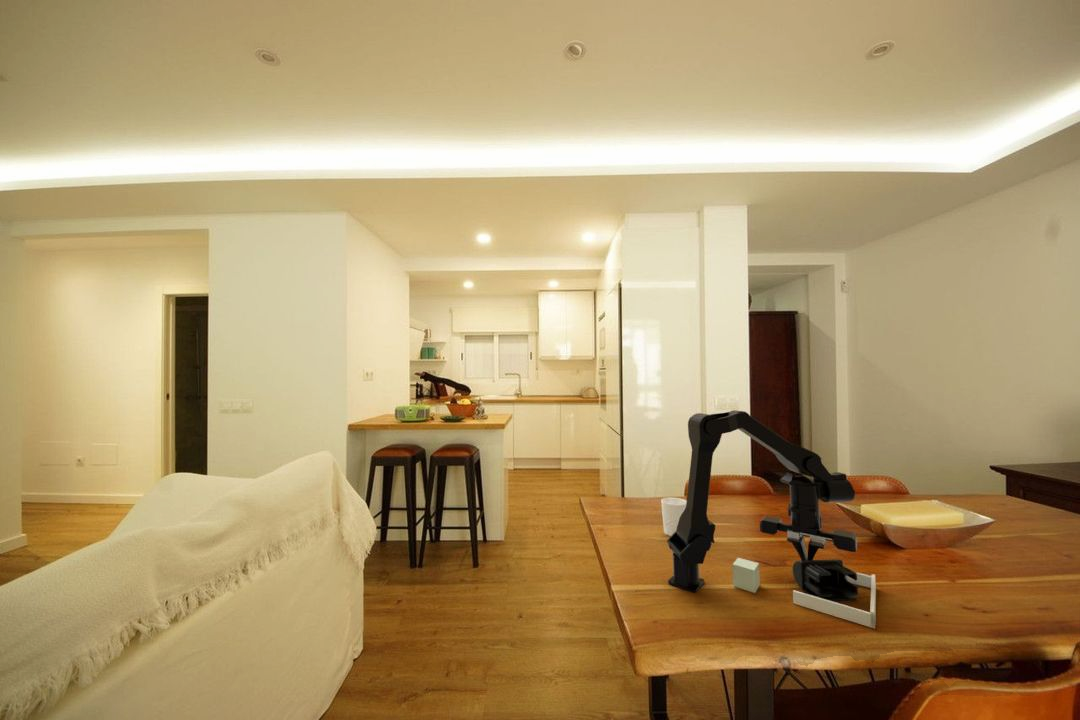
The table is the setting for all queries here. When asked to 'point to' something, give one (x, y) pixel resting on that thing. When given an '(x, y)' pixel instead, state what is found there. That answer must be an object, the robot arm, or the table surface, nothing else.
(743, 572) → the block
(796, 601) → the white u-shaped frame
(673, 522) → the white cup
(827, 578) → the end cap
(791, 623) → the table surface
